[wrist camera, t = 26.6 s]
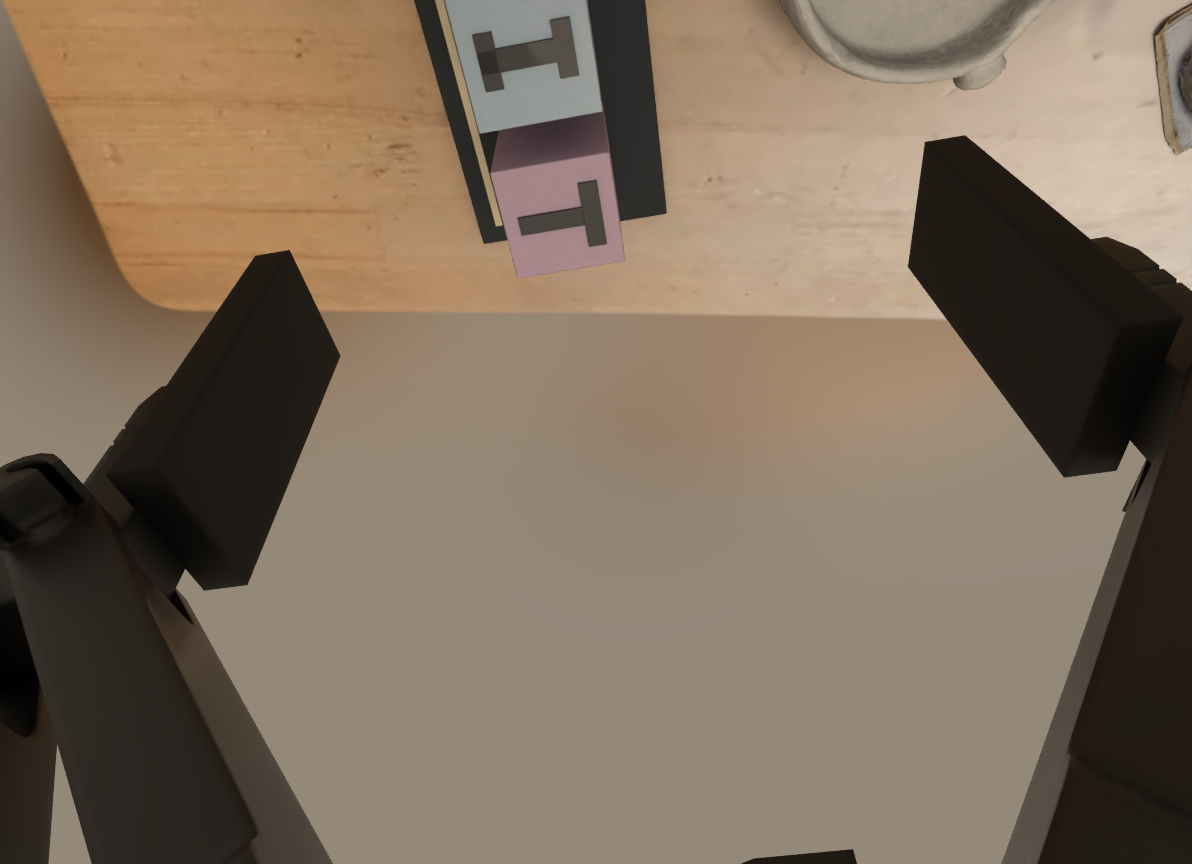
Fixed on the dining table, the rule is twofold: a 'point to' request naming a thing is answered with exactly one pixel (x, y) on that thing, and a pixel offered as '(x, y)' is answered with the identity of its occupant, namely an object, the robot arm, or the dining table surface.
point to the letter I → (526, 60)
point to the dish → (914, 37)
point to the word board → (622, 93)
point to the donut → (1176, 79)
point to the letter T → (558, 195)
